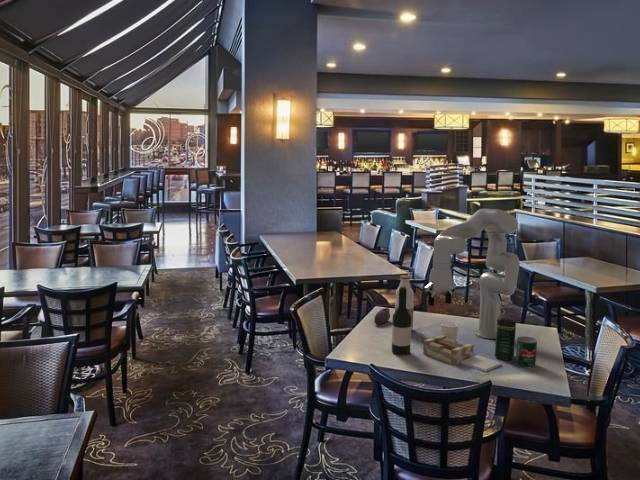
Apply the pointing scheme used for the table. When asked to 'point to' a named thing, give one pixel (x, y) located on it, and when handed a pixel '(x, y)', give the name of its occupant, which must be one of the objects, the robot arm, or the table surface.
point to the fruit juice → (409, 296)
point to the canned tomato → (526, 352)
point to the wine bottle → (401, 326)
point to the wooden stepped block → (444, 354)
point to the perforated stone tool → (382, 316)
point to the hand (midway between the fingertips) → (439, 304)
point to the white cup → (449, 330)
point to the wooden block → (449, 344)
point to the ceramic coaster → (481, 363)
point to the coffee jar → (505, 337)
